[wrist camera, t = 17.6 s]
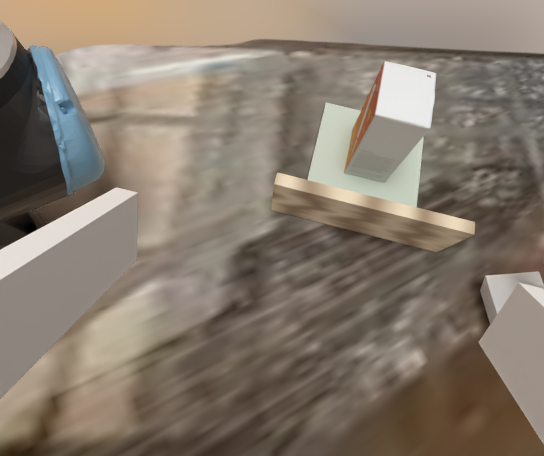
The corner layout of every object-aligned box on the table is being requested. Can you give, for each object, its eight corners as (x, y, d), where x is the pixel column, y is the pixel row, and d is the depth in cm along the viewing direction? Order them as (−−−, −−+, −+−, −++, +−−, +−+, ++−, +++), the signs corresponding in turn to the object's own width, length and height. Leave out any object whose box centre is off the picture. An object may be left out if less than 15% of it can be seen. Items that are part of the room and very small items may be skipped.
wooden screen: (270, 209, 45) (274, 184, 37) (273, 200, 45) (277, 172, 38) (436, 252, 44) (474, 234, 36) (437, 241, 45) (474, 222, 37)
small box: (351, 129, 49) (384, 58, 36) (391, 139, 48) (438, 71, 36) (342, 173, 46) (374, 114, 34) (384, 184, 46) (432, 128, 33)
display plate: (303, 193, 46) (304, 189, 45) (324, 107, 51) (326, 102, 50) (411, 220, 45) (415, 217, 44) (420, 131, 51) (424, 126, 50)
